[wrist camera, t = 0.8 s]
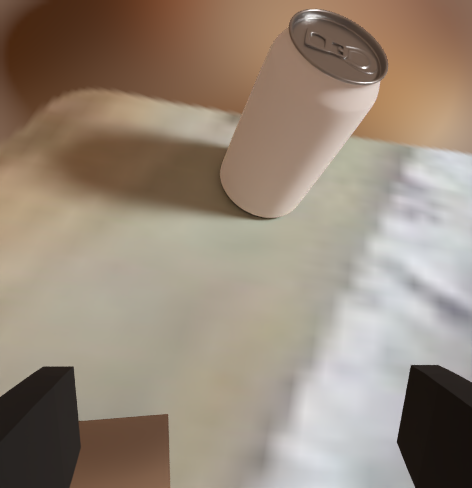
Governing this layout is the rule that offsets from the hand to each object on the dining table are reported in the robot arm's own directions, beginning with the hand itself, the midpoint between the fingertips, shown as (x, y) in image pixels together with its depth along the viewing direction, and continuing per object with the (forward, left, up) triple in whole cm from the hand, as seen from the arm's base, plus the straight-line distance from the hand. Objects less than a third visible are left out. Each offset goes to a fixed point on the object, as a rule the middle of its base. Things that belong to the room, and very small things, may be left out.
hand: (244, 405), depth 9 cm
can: (+17, -8, -14) cm, 24 cm away
